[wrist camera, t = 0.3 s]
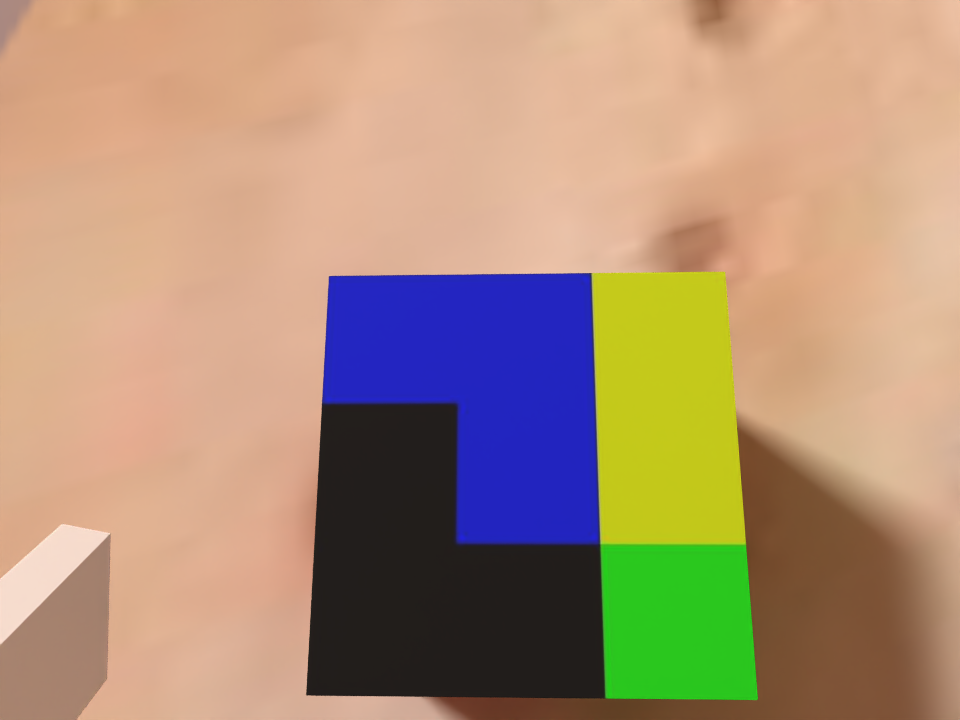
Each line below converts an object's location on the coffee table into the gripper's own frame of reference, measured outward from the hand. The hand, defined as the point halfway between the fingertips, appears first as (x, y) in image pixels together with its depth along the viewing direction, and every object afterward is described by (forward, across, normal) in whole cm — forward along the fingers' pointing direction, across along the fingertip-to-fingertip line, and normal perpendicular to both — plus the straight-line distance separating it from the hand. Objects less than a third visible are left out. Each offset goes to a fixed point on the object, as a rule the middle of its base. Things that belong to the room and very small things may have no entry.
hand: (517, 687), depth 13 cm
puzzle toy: (+16, 0, +6) cm, 17 cm away
